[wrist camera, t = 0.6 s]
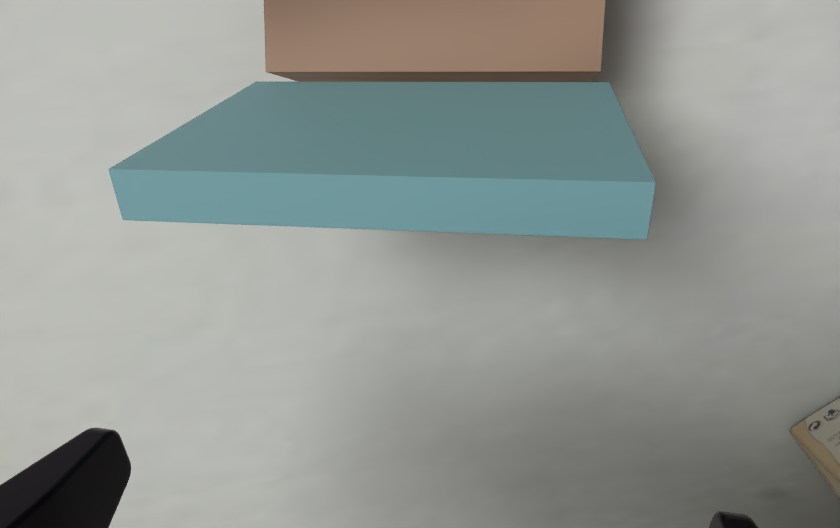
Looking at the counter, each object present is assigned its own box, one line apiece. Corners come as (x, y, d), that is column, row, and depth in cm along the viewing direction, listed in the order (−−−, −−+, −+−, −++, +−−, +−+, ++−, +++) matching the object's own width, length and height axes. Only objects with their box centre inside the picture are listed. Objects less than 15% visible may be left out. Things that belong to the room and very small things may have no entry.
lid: (609, 81, 16) (605, 121, 17) (256, 81, 17) (262, 117, 18) (655, 181, 10) (646, 239, 10) (108, 169, 11) (122, 220, 12)
